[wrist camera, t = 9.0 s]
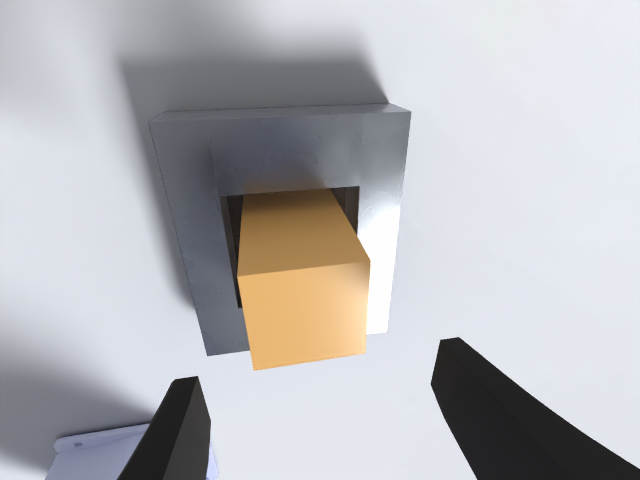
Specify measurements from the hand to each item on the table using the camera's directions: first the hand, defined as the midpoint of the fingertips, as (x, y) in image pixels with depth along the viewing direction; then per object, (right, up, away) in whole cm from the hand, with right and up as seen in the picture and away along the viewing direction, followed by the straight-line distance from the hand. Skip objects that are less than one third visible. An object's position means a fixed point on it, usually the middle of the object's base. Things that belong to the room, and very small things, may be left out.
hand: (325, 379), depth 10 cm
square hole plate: (-2, +5, +8) cm, 9 cm away
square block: (-2, +5, +8) cm, 9 cm away
